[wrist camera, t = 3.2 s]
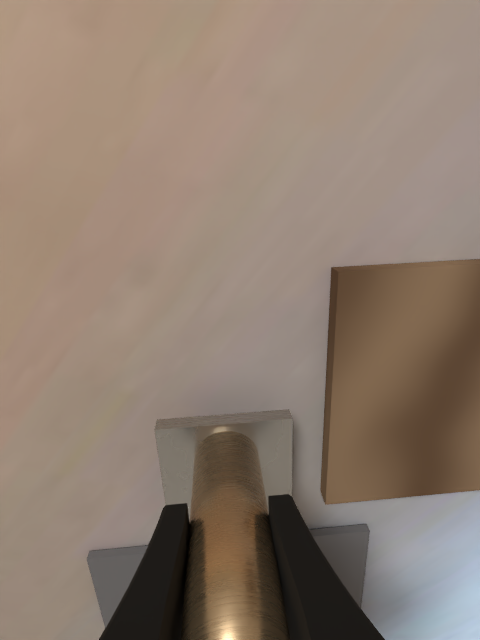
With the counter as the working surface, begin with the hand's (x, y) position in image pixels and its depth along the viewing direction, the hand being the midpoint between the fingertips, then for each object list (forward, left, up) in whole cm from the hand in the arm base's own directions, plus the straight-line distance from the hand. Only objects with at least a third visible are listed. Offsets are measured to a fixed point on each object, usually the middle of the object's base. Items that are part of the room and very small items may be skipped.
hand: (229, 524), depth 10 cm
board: (-10, -1, -5) cm, 11 cm away
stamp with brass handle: (0, +1, -3) cm, 4 cm away
